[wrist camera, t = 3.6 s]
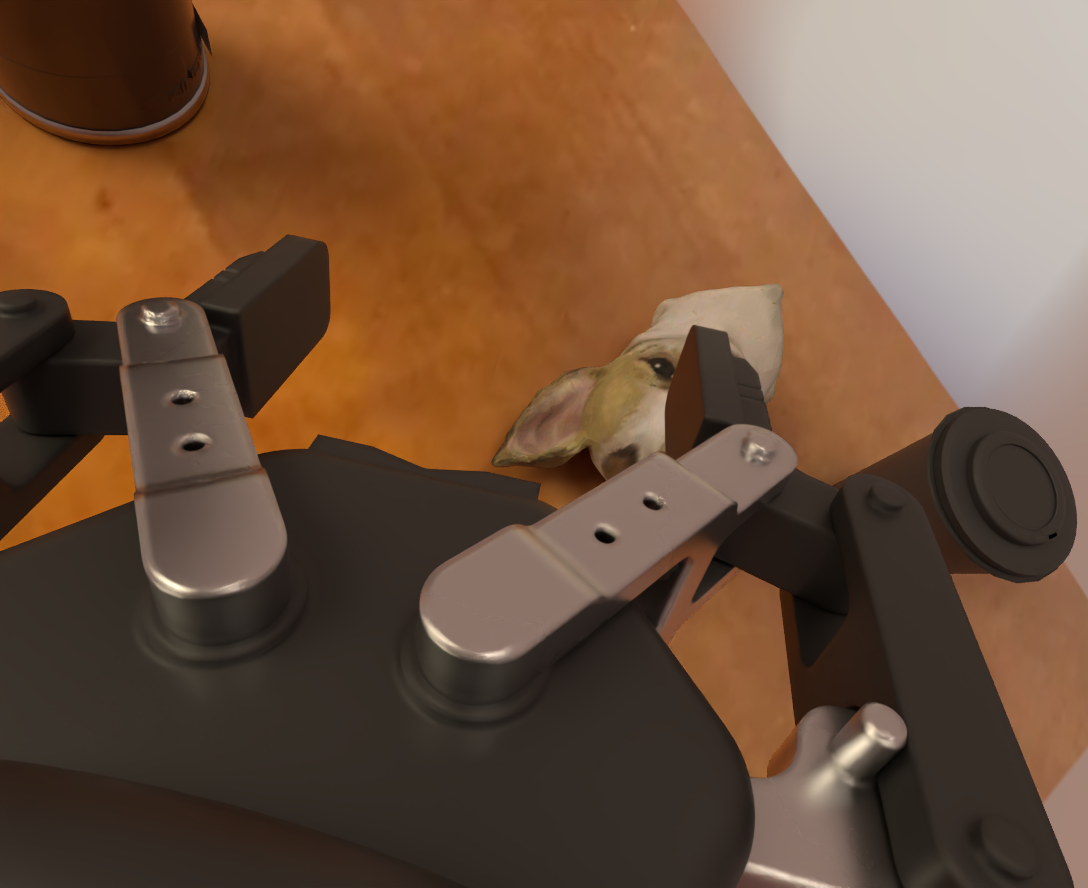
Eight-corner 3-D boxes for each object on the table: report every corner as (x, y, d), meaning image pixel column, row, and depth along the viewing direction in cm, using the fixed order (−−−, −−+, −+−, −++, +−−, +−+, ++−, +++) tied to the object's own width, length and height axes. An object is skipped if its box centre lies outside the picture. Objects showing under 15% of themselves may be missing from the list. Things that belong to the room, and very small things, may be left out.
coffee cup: (881, 631, 35) (1070, 622, 26) (772, 532, 35) (923, 488, 26) (934, 522, 39) (1117, 481, 30) (834, 431, 39) (987, 361, 30)
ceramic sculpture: (889, 344, 30) (718, 604, 24) (779, 405, 38) (632, 610, 32) (714, 189, 30) (504, 414, 24) (641, 283, 38) (471, 468, 32)
